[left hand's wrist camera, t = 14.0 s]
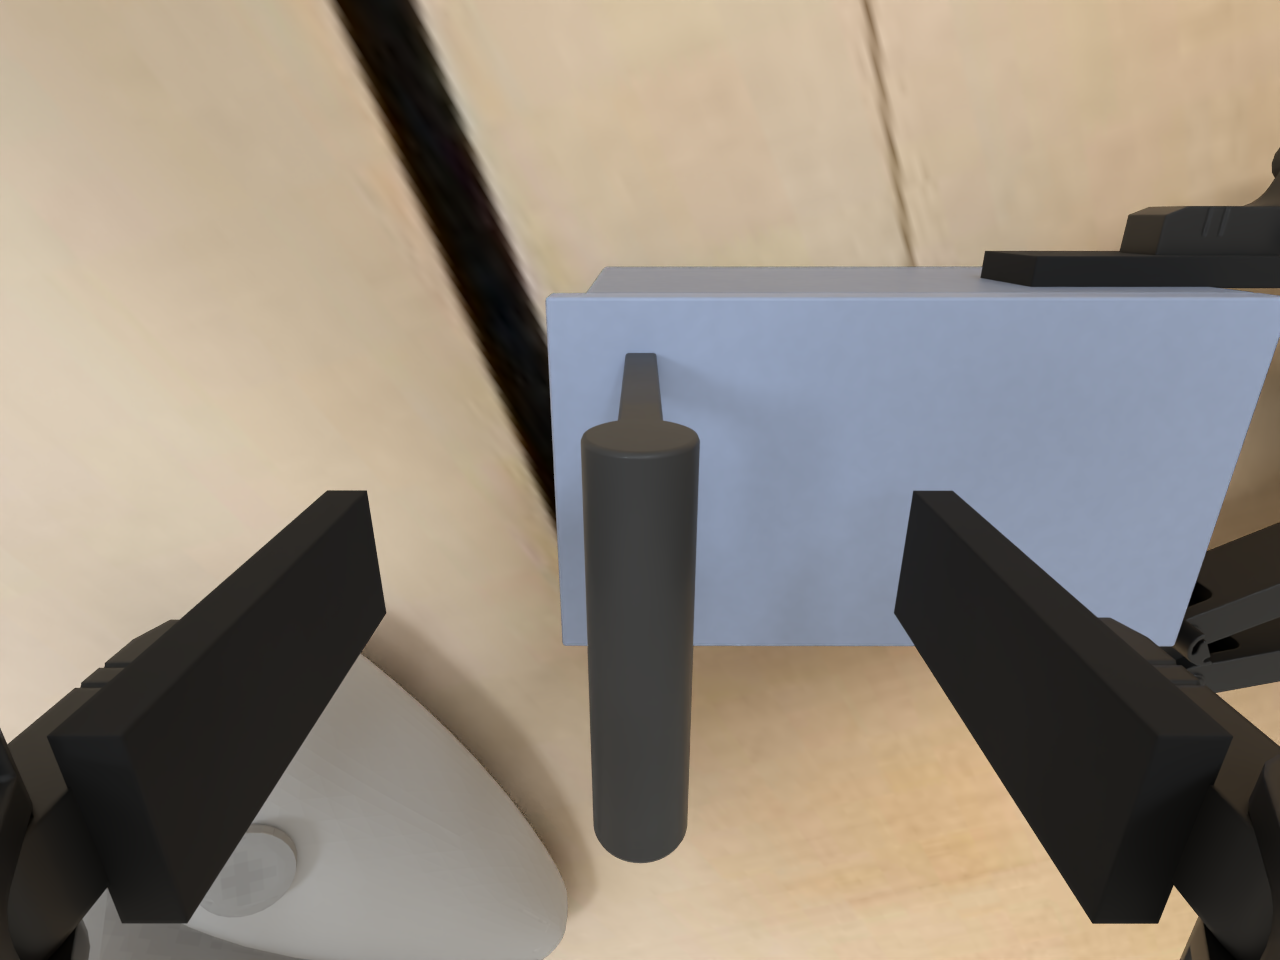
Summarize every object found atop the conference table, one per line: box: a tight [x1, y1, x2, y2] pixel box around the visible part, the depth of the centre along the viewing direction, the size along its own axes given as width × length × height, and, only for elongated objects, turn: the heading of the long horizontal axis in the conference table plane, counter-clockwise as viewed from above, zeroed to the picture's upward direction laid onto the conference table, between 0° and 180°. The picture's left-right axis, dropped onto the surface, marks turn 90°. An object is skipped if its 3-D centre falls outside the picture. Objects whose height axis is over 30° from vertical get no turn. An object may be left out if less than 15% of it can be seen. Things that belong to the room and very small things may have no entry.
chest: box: [587, 267, 1253, 293], centre depth 21 cm, size 16×9×9 cm, turn 90°
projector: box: [83, 654, 568, 960], centre depth 25 cm, size 22×23×15 cm
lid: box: [546, 293, 1280, 863], centre depth 13 cm, size 16×9×8 cm, turn 90°
